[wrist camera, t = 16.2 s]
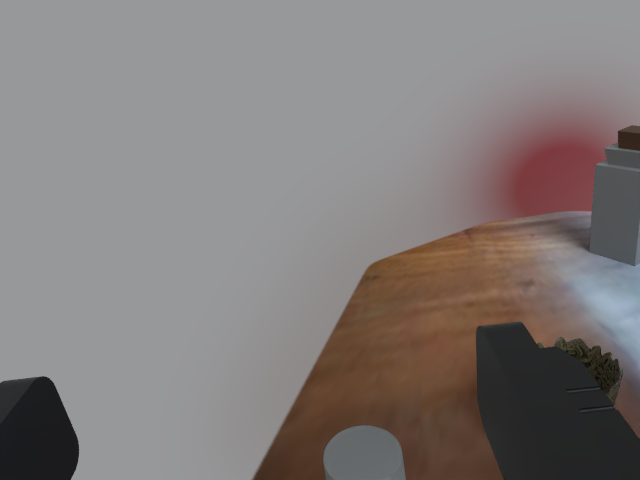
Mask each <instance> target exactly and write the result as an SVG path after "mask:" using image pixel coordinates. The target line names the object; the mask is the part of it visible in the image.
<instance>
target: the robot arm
mask: <svg viewBox="0 0 640 480" xmlns="http://www.w3.org/2000/svg"><path fill="white" fill-rule="evenodd" d="M476 353H477V391H478V403H479V409H480V414H481V419H482V422H483V426H484V429H485V432H486V434H487V437H488V439H489V442H490V445H491V447H492V450H493V452H494V455H495V457H496V460H497V463H498V465H499V468H500V470H501V473H502V475H503V478H504V480H640V439H639V438H638V437H637V435H636V434H635V433H634V431H633V430H632V429H631V427H630V426H629V425H628V423H627V422H626V420H625V419H624V418H623V416H622V415H621V414H620V412H619V411H618V410H615V408H614V404H613V403H612V402H611V400H610V399H609V398H608V396H607V395H606V393H605V392H604V391H603V390H602V391H601V389H600V385H599V384H598V383H597V381H596V380H595V379H594V377H593V376H592V375H591V373H590V372H589V371H588V369H587V368H586V367H585V365H584V364H583V363H582V362H580V361H579V360H577V359H576V358H574V357H573V356H571V355H570V354H568V353H566V352H565V351H563V350H562V349H560V348H559V347H548V348H539V347H538V346H537V344H536V343H535V341H534V340H533V338H532V336H531V335H530V333H529V332H528V330H527V329H526V327H525V326H524V324H523V323H522V322H512V323H504V324H495V325H487V326H478V328H477V331H476ZM78 457H79V444H78V439H77V436H76V434H75V431H74V429H73V427H72V424H71V422H70V420H69V417H68V415H67V413H66V410H65V408H64V406H63V404H62V401H61V399H60V396H59V394H58V392H57V390H56V387H55V385H54V383H53V382H52V381H51V380H50V379H49V378H47V377H44V376H43V377H34V378H26V379H18V380H9V381H3V382H1V383H0V480H71V478H72V476H73V474H74V472H75V470H76V467H77V463H78Z"/></svg>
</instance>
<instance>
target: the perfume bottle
mask: <svg viewBox="0 0 640 480" xmlns="http://www.w3.org/2000/svg"><path fill="white" fill-rule="evenodd" d="M604 150H605V153H606V157H607V160H605V161H603V162H600V163H598V164H596V165H595V176H594V190H593V205H592V219H591V233H590V247H589V252H591V253H595V254H598V255H601V256H604V257H608V258H611V259H614V260H617V261H620V262H624V263H627V264H630V265H633V266H636V265H637V264H639V263H640V126H630V127H627V128H624V129H622V130H620V131H618V143H616V144H613V145H611V146H609V147H606V148H604Z"/></svg>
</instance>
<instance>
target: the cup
mask: <svg viewBox="0 0 640 480" xmlns="http://www.w3.org/2000/svg"><path fill="white" fill-rule="evenodd" d="M537 346H538V347H539V348H544V345H543V344H542V343H538V344H537ZM548 347H550V346H548ZM548 347H547V348H548ZM555 347H559V348H560V349H562V350H563V351H565V352H566V353H568V354H570V355H571V356H573V357H574V358H576V359H577V360H579V361H580V362H582V363H583V364H584V365H585V367H586V368H587V369H588V371H589V372H590V373H591V375H592V376H593V377H594V379H595V380H596V381H597V383H598V384H599V385H600V389H601V391H602V390H603V391H604V392H605V393H606V395H607V396H608V398H609V399H610V400H611V402H612V403H613V404H615V401H616V397H617V394H618V390H619V386H620V382H621V378H622V374H623V369H621V370H620V368H619V364H618V359H615V360H614V358H613V356H612V353H611V352H609V353H606V354H604V355H603V356H602V355H601V349H600V346H594V347H593V348H592V349H593V350H591V348H589V347H588V345H587V344H586V343H585V342H584V341H583V340H582V339H574V340H572V341H570V342H566V340H565V339H564V338H562V337H560V338H558V339H557V341H556V343H555ZM619 370H620V371H619ZM620 372H621V373H620Z"/></svg>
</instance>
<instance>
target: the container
mask: <svg viewBox="0 0 640 480" xmlns="http://www.w3.org/2000/svg"><path fill="white" fill-rule="evenodd" d="M323 463H324V469H325V476H326V480H406V477H405V470H404V463H403V456H402V449H401V446H400V444H399V442H398V440H397V439H396V438H395V437H394V436H393V435H392V434H391V433H389V432H388V431H386V430H384V429H382V428H379V427H375V426H369V425H361V426H354V427H351V428H347V429H345V430H343V431H341V432H339V433H338V434H336V435H335V436H334V437H333V438H332V439H331V440H330V441H329V443H328V444H327V446H326V448H325V451H324V455H323Z"/></svg>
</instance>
